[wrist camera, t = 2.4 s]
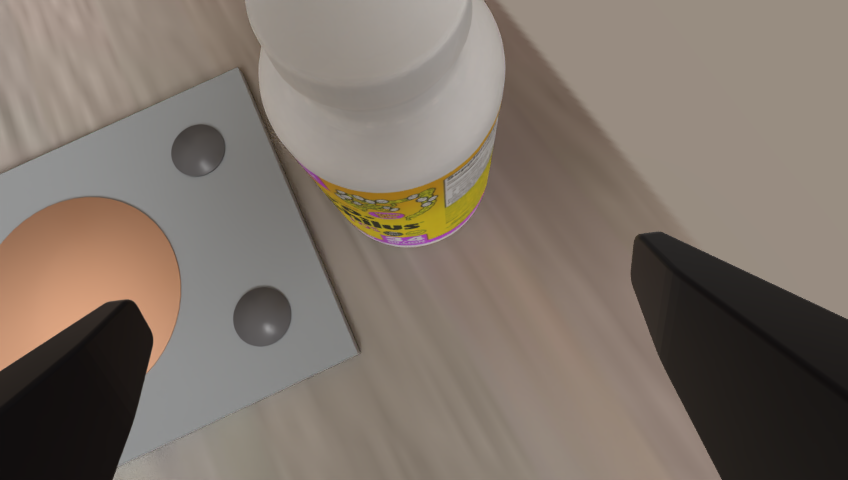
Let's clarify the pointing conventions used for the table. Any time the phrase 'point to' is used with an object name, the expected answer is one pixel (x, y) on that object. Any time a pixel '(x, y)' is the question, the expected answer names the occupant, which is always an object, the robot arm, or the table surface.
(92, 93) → the table surface
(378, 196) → the supplement bottle
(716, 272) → the robot arm
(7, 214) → the plate
